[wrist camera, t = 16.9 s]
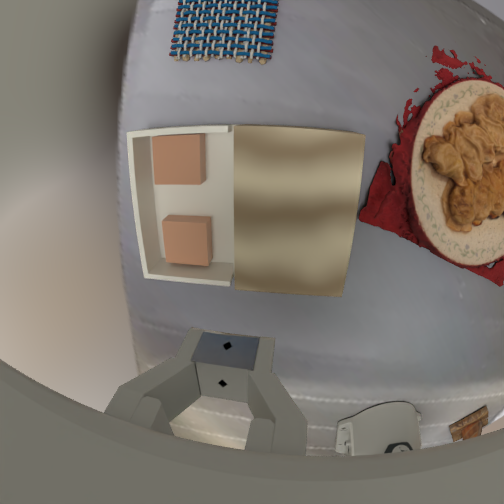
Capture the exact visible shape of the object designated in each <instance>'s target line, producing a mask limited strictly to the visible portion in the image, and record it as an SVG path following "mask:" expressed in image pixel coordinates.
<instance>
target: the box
mask: <svg viewBox="0 0 504 504" xmlns="http://www.w3.org/2000/svg"><path fill="white" fill-rule="evenodd" d="M236 125H242V124H218V125H190V126H173V127H160V128H149V129H142V130H136V131H131V132H127V145H128V160H129V172H130V182H131V192H132V201H133V209H134V217H135V224H136V231H137V238H138V244H139V250H140V256H141V262H142V267H143V273H144V278H150V279H159V280H168V281H177V282H187V283H197V284H208V285H219V286H230V285H231V282H232V279H233V277H235V270H234V126H236ZM190 133H205V149H206V181H205V182H203V183H202V184H201V185H155V182H154V167H153V149H152V137H153V136H158V135H169V134H190ZM168 215H188V216H209V217H211V230H212V255H213V258H212V260H211V262H210V264H209V266H202V265H190V264H179V263H169V262H166V256H165V248H164V239H163V230H162V220H163V219H164V218H165V217H167V216H168Z"/></svg>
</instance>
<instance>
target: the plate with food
mask: <svg viewBox="0 0 504 504" xmlns="http://www.w3.org/2000/svg"><path fill="white" fill-rule="evenodd" d="M450 51H451V52H452V53H453V54H454V56H455V58H451V57H449V56H447V55H446V54H445V53H444V50H442V51H439V49H438V46H434V47H433V55H432V59H431V60H432V62H433V63H435V62H437V63H439V64H442V65H443V66H444V65H445V66H446V67H448V65H449V68H450V67H451V68H452V69H454V68H455V69H457V68H459V67H460V66H461V67H462V66H463V65H464V64H465V65H467V62H466V61H465V62H464V63H462V62H461V61H459V60H458V59H457V54H456V53H455V51H454V50H450ZM426 57H427V56H426ZM475 58H476V57H475ZM477 62H478V63H480V60H479V59H477ZM444 63H445V64H444ZM469 64H470V66H471V68H472V69H473V70H474V69H475V70H476V72H477V74H478V75H484V77H481V78H477V79H476V78H472V77H470V78H469V77H467V78H466V79H463V78H461V79H460V78H459V79H460V80H458V77H459V76H457V75H456V76H455V77H453V76H452V75H453V73H452V72H449V70H448V69H446V68H445V69H444V68H441V69H440V70H438V71H439V72H437V71H435V72H436V73H437V74H435V76H437V77H438V79H439V80H441V79H442V83H439V84H438V85H436V86H435V88H434V89H432V88H431V91H432V92H433V94H434V93H435V90H436V89H438V90H439V89H440V90H439V91H438V92H437V93H435V94H434V95H433V97H432V98H431V99H430V100H429V101H426V102H425V103H424V105H423V107H422V109H421V107H420V106H418V107H416V106H415V105H414V106H413V107H411V109H412V110H411V111H409V110H408V107H409V106H410V105H411V104H412V99H409V100H407V102H406V106H405V111H404V115H403V122H404V125H403V128H402V127H401V124H400V122H399V121H398V116H397V119H396V121H397V125H399V127H398V131H399V136H400V139H401V145H399V146H398V145H397V144H396V143H395V144H393V145H392V149H393V150H392V151H391V153H390V155H389V158H390V162H391V163H392V167H393V169H392V170H393V172H394V176H395V177H396V178H395V179H396V184H395V185H394V186H393V185H392V183H391V176H390V173H391V172H390V170H391V167H390V166H389V164H388V163H385V162H383V161H381V162H380V166H379V168H378V169H377V173H376V174H375V177H374V180H373V183H372V185H371V187H370V192H369V197H368V202H367V206H366V207H364V208H363V209H362V210H361V212H360V215H359V220H360V221H361V222H365V223H368V224H371V225H373V226H376V227H377V226H378V227H380V228H382V229H384V230H388V231H391V232H394V233H396V234H398V235H399V237H401V236H402V237H403V238H405V239H407V240H410V241H411V242H413V243H416V244H417V245H419V247H421V246H422V247H425V248H426V249H429V250H430V252H431V253H433V254H435V255H436V256H438V257H440V258H442V259H444V260H446V261H448V262H450V263H452V264H454V265H456V266H458V267H460V268H466V269H468V270H470V271H472V272H474V273H476V274H477V275H480V276H483V277H485V278H487V279H489V280H490V281H492V282H494V283H495V284H497V285H498V286H499V287H501V286H502V285H503V281H504V87H503V86H502V85H501V84H499V83H494V82H492V81H491V80H490V79H492V77H491V76H487V75H485V72H483V69H479V68H478V67H475V66H474V63H473V62H472V64H471V63H469ZM484 65H485V64H484ZM485 66H486V65H485ZM461 67H460V68H461ZM463 68H464V67H463ZM442 69H443V70H442ZM473 73H474V72H473ZM468 74H469V73H468ZM474 74H475V73H474ZM456 80H458V81H456ZM453 81H456V82H454V83H453ZM451 83H452V84H451ZM447 85H448V86H447ZM446 86H447V87H446ZM418 90H419V88H417V89H416V90H415V91H414V92H417V91H418ZM429 97H430V95H429ZM410 113H412V114H413V116H412V118H411V120H410V121H409V122H407V119H408V115H409V114H410ZM405 126H406V127H405ZM502 258H503V259H502ZM500 259H502V260H501V261H499V260H500ZM495 261H499V262H497V263H496V264H495V265H494V266H493V267H492V268H488V267H487V266H486V265H489V264H490V263H493V262H495Z"/></svg>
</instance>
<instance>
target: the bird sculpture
mask: <svg viewBox="0 0 504 504" xmlns="http://www.w3.org/2000/svg"><path fill="white" fill-rule="evenodd" d="M486 418H487V419H486ZM479 420H480V421H479ZM482 420H483V422H482ZM486 420H487V421H486ZM487 424H488V410H487V407H486V406H485V407H484V408H483V409H480V410H479V411H477V412H475V413H473V414H471V415H469V416H468V417H465V418H464V419H461V420H460V421H459V422H456V423H454V424H452V425H450V426H449V427H450V431H451V435H452V439H453V442H455V441H457V440H459V439H461V438H463V440H466V439H470V438H473V437H477V436H481V432H482V427H483V426H485V425H487ZM466 426H467V427H466ZM461 429H463V430H461ZM458 434H459V435H458Z"/></svg>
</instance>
